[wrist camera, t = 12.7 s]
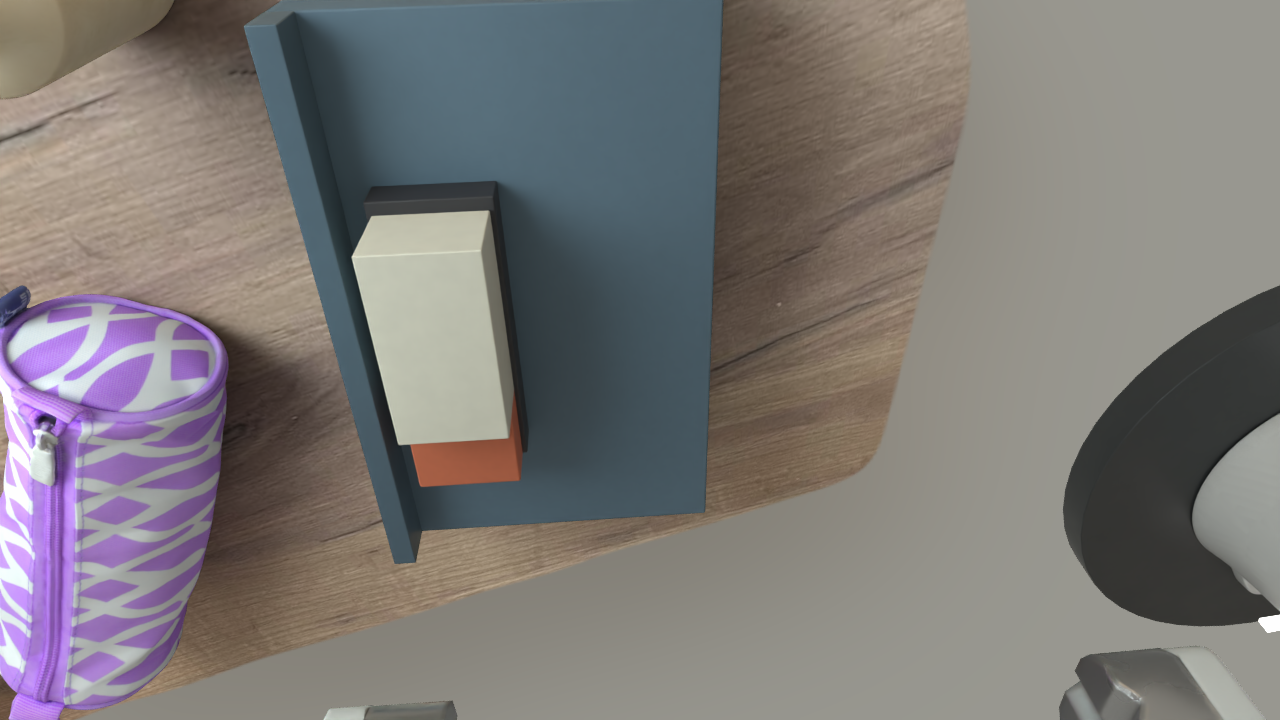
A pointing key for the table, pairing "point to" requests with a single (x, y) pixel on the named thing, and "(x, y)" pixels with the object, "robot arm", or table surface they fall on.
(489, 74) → the grey lipped base tray
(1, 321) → the pencil case
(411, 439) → the cream and orange block
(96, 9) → the candle
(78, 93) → the table surface
